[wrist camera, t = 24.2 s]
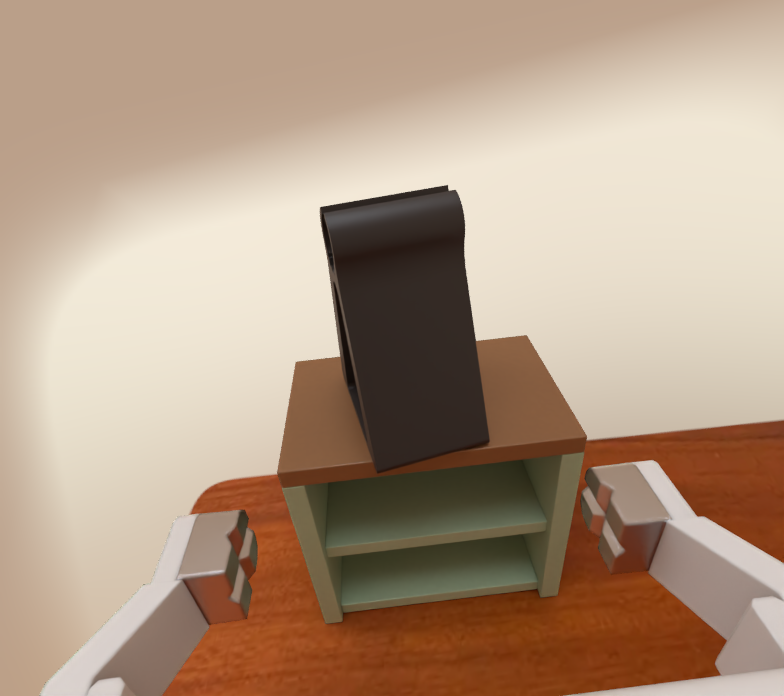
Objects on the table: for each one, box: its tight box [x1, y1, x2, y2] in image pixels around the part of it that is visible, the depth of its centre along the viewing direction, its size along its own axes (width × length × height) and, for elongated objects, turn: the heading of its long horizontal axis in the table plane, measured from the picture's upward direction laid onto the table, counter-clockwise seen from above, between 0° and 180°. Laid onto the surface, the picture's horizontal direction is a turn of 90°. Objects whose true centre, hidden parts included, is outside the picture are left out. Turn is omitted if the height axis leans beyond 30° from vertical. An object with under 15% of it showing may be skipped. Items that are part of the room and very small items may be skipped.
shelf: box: [277, 335, 587, 624], centre depth 32 cm, size 16×10×15 cm, turn 94°
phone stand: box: [320, 185, 490, 474], centre depth 24 cm, size 9×6×12 cm, turn 16°
